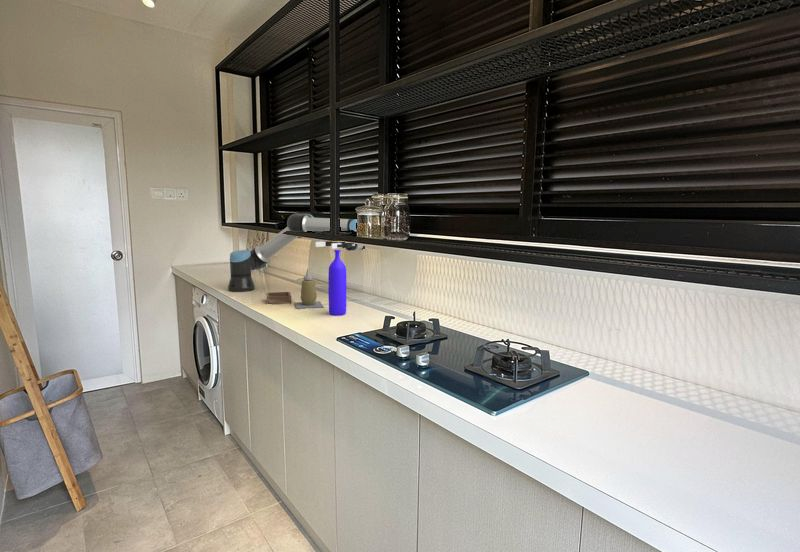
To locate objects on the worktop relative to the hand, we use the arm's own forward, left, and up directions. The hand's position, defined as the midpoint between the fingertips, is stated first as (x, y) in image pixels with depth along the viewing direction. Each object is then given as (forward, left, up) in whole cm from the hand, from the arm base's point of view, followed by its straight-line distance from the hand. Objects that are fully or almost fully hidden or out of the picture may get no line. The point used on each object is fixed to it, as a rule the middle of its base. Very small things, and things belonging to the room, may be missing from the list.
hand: (323, 245), depth 218 cm
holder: (-3, -23, -30) cm, 38 cm away
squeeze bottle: (+10, -9, -30) cm, 33 cm away
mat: (+10, -9, -30) cm, 33 cm away
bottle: (+31, +2, -30) cm, 43 cm away
